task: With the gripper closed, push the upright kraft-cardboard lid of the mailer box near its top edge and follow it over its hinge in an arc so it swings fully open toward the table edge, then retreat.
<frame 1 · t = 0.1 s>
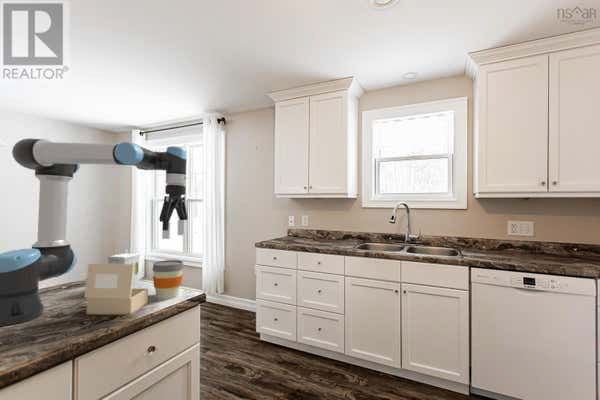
hand: (173, 236, 112), 28 cm above the worktop, fingers open, 13 cm apart
lid: (109, 280, 101), point 12 cm above the worktop, hinge at 84.0°
mailer: (118, 308, 107), on the worktop
reusable coffee cup: (167, 296, 122), on the worktop
supplement box: (122, 291, 129), on the worktop
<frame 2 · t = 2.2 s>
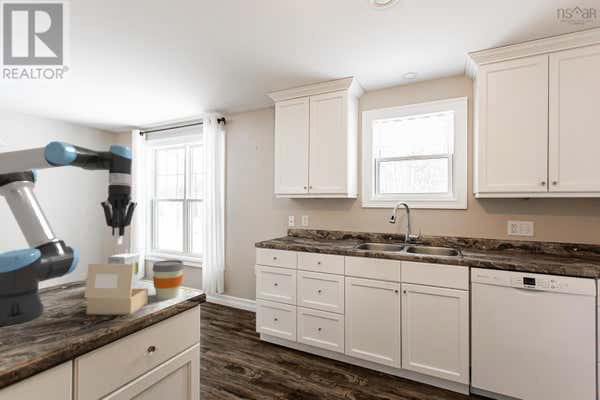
hand: (118, 244, 109), 25 cm above the worktop, fingers closed
nothing on the worktop moved.
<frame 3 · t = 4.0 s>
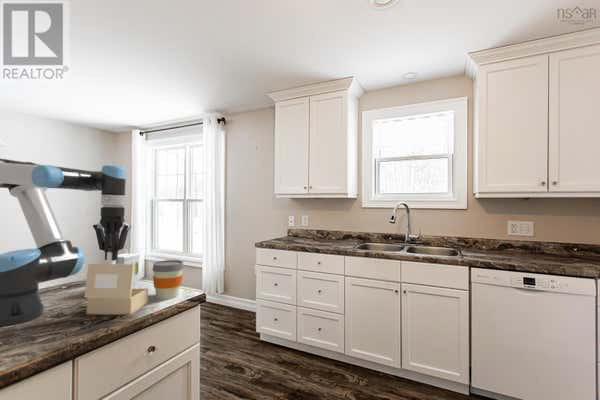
hand: (110, 268, 104), 16 cm above the worktop, fingers closed
lid: (109, 280, 101), point 12 cm above the worktop, hinge at 84.3°, touching gripper
everything else where it was.
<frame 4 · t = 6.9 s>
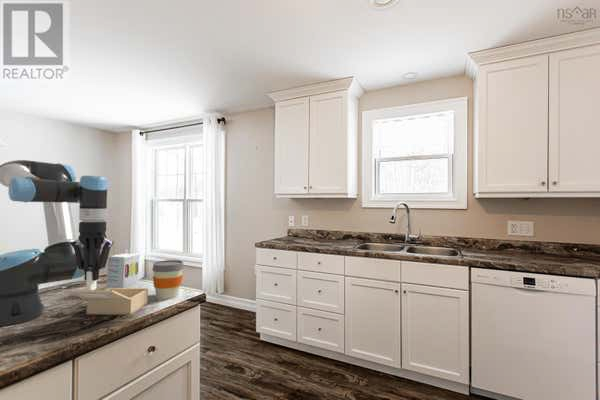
hand: (91, 289, 94), 11 cm above the worktop, fingers closed
lid: (98, 295, 96), point 9 cm above the worktop, hinge at 149.6°, touching gripper
everything else where it was.
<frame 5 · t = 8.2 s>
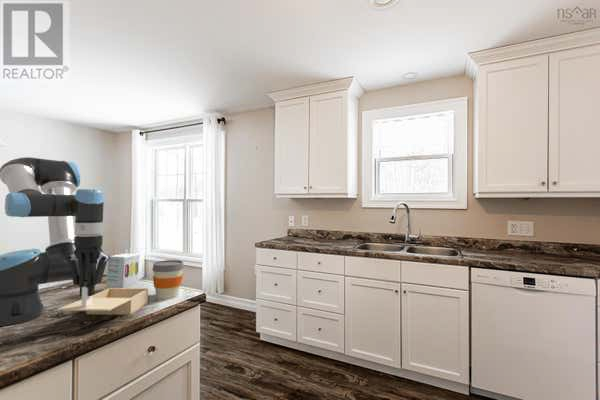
hand: (86, 305, 92), 7 cm above the worktop, fingers closed
lid: (96, 304, 95), point 6 cm above the worktop, hinge at 177.3°, touching gripper
everything else where it was.
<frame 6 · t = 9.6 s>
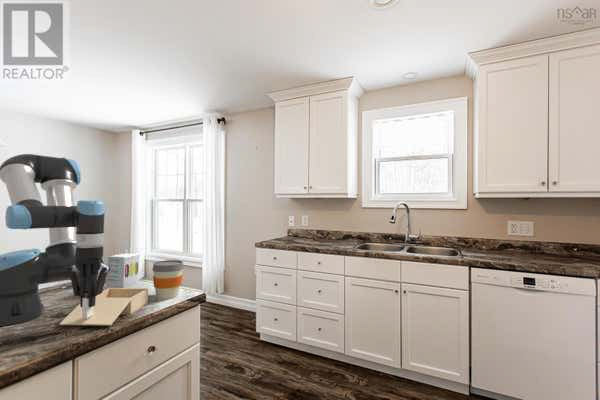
hand: (87, 316, 92), 3 cm above the worktop, fingers closed
lid: (97, 310, 95), point 3 cm above the worktop, hinge at 202.7°, touching gripper
everything else where it was.
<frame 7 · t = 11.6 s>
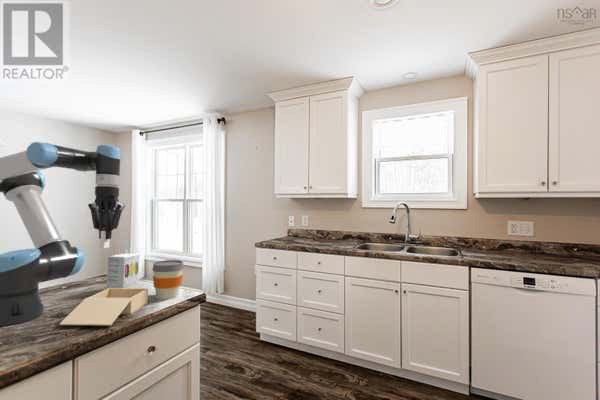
hand: (104, 247, 105), 24 cm above the worktop, fingers closed
lid: (97, 310, 95), point 3 cm above the worktop, hinge at 202.8°
everything else where it was.
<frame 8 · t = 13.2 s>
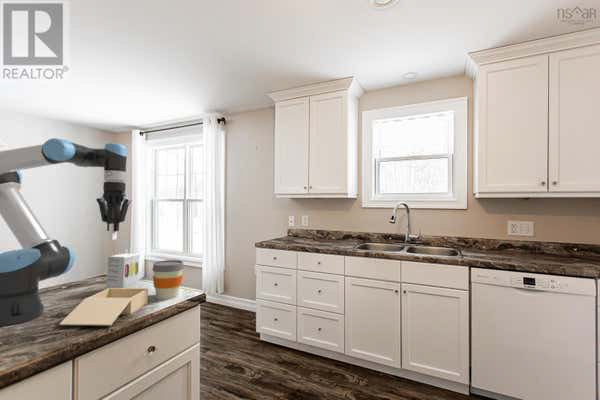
hand: (112, 239, 112), 26 cm above the worktop, fingers closed
nothing on the worktop moved.
at the end: lid at +203° (first picture: +84°); lid touching nothing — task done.
